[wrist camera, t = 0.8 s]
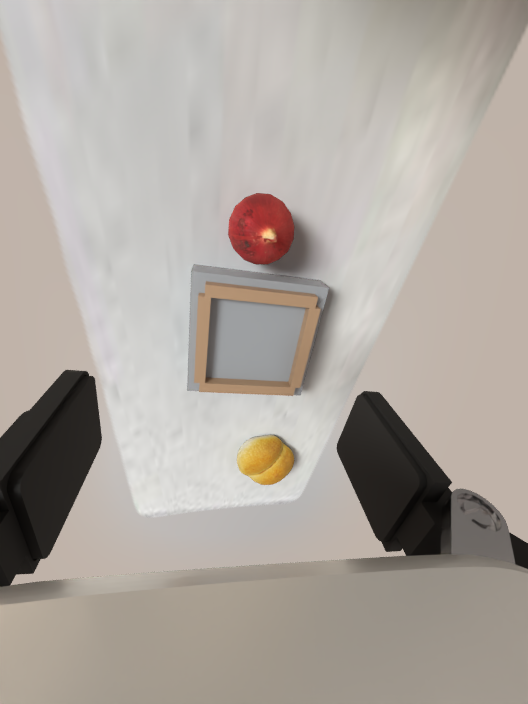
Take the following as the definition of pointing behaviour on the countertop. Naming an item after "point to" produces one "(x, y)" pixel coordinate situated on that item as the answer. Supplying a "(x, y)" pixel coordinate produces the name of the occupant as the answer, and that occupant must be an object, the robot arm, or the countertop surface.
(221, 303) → the stand
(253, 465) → the bread roll
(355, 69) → the countertop surface
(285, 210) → the pomegranate
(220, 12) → the countertop surface
